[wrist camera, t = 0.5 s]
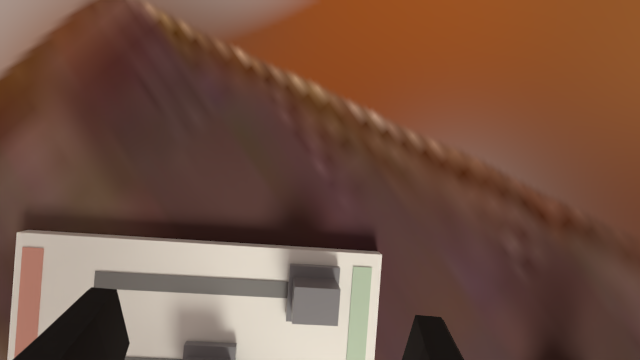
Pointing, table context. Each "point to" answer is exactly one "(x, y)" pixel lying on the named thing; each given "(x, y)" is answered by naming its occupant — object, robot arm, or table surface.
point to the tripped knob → (209, 351)
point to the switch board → (193, 294)
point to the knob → (313, 294)
